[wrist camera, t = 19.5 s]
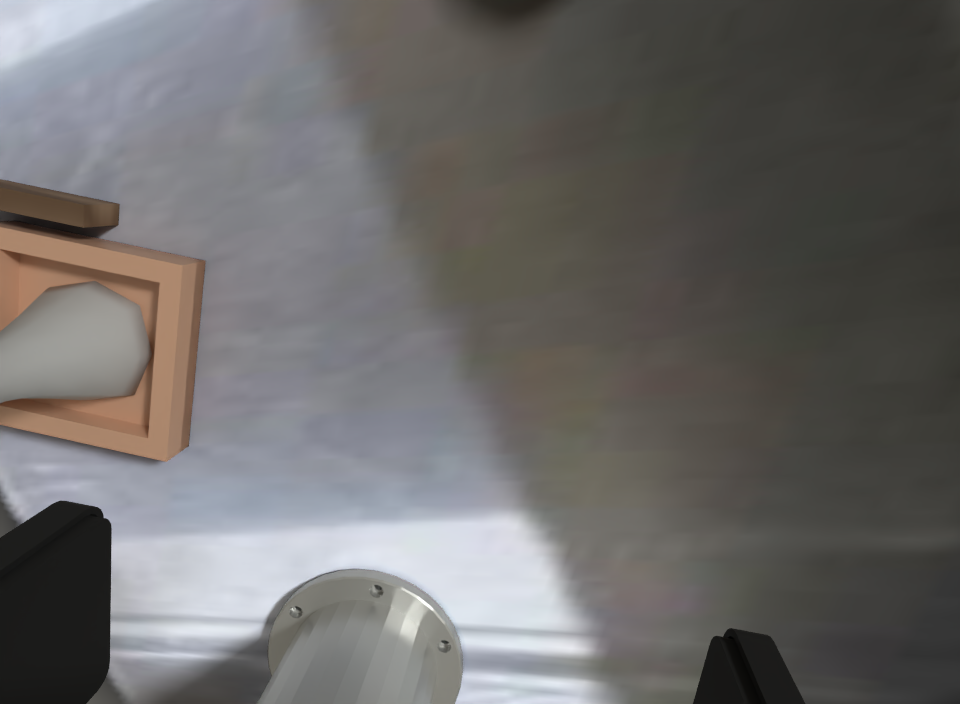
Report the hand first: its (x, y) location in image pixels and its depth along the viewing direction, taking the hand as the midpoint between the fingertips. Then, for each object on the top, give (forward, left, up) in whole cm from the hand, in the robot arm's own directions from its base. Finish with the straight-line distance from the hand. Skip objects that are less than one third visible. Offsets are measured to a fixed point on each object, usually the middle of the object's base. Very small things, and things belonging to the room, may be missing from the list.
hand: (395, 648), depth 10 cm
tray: (-6, +23, -28) cm, 37 cm away
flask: (-6, +23, -27) cm, 36 cm away
